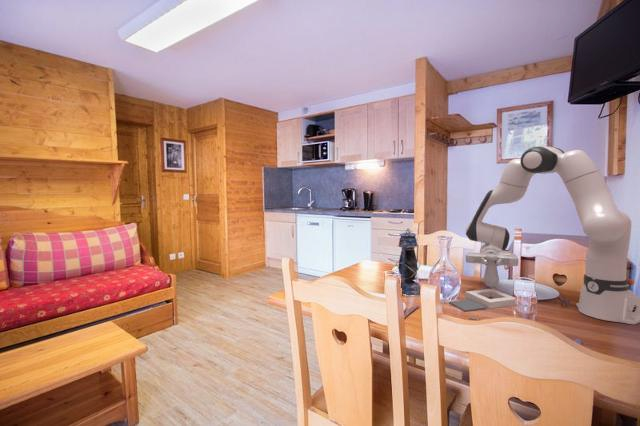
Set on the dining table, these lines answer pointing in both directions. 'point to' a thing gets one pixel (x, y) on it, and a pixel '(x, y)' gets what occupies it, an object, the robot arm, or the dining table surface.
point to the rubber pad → (467, 305)
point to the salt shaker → (491, 271)
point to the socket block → (499, 300)
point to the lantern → (408, 264)
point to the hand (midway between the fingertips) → (491, 262)
